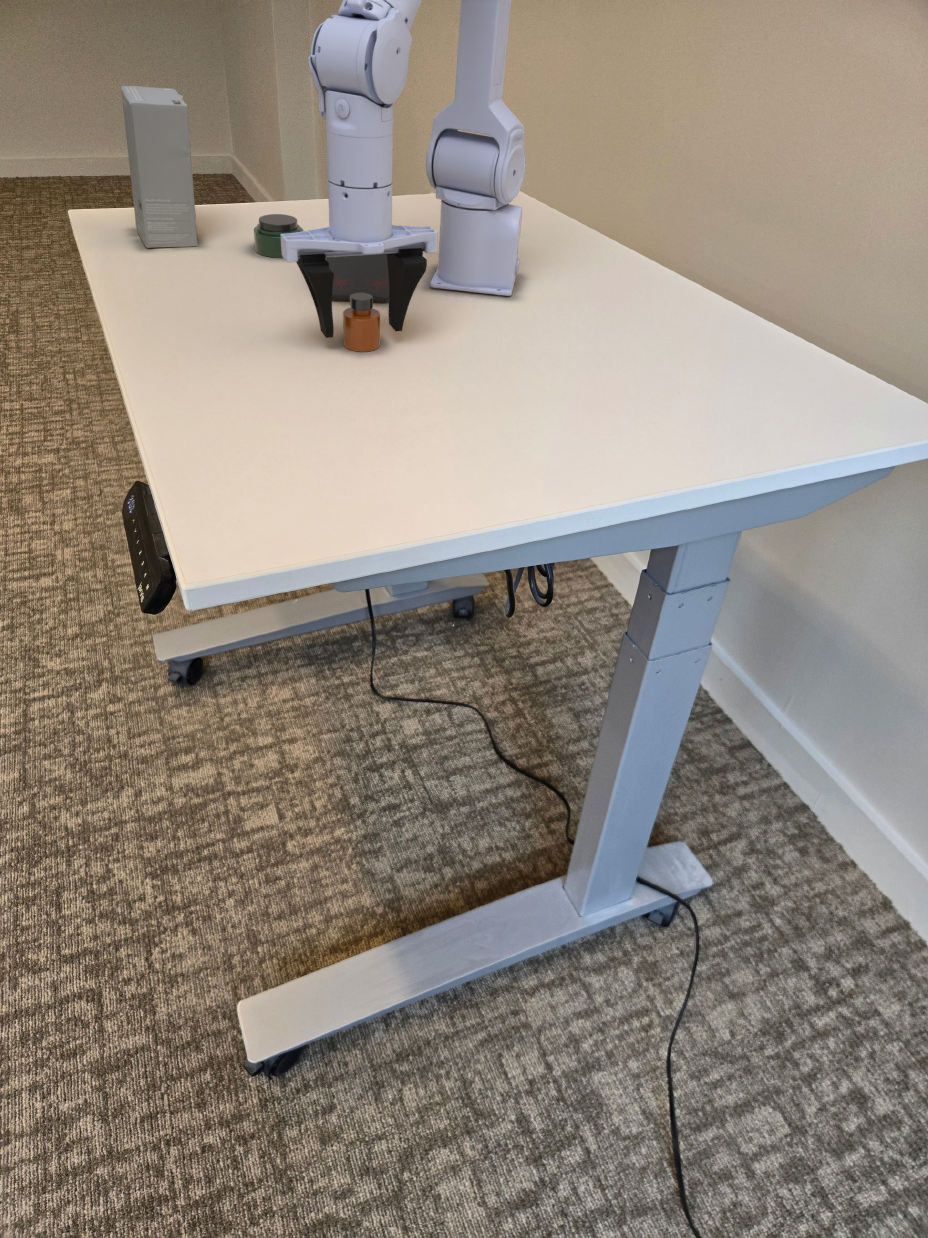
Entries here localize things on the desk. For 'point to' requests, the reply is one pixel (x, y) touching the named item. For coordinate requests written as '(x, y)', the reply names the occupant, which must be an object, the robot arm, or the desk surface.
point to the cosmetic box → (160, 166)
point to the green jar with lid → (273, 233)
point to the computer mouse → (360, 276)
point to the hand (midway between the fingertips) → (361, 330)
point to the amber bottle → (361, 324)
